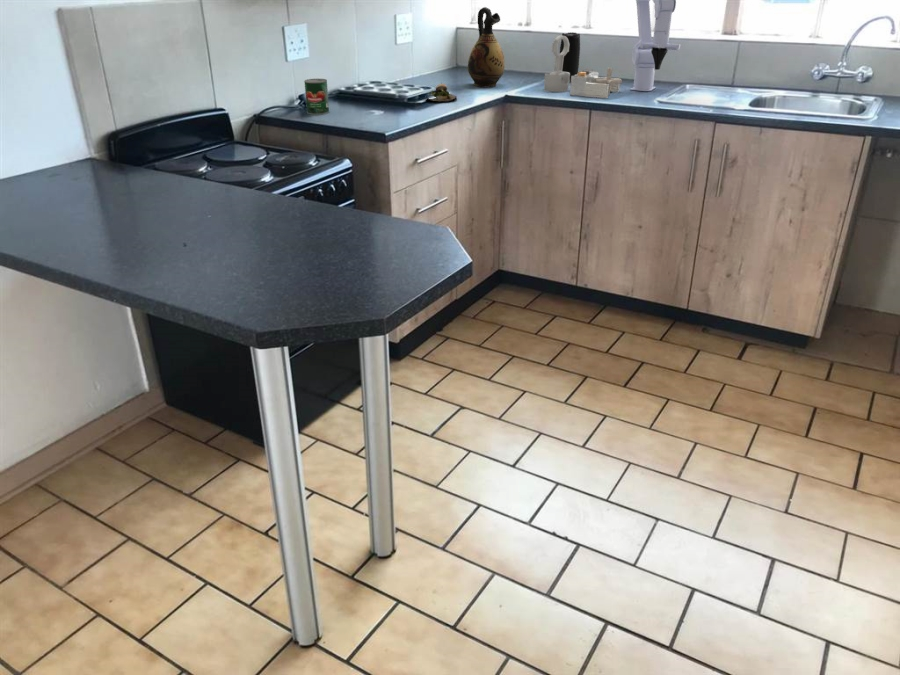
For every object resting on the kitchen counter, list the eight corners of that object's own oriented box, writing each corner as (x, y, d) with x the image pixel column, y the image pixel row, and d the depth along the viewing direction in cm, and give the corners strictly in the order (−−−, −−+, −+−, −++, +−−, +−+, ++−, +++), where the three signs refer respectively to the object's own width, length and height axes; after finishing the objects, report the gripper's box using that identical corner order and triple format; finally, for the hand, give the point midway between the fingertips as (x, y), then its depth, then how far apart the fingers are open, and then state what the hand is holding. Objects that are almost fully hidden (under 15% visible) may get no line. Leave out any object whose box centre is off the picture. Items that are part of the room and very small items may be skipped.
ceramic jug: (511, 86, 312) (514, 8, 298) (482, 89, 304) (483, 10, 290) (487, 80, 324) (488, 5, 310) (458, 84, 316) (458, 7, 302)
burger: (420, 102, 282) (420, 82, 278) (432, 97, 292) (432, 77, 288) (450, 105, 278) (449, 84, 274) (461, 99, 288) (461, 79, 284)
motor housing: (583, 88, 305) (584, 67, 301) (619, 91, 299) (621, 70, 295) (569, 95, 292) (570, 73, 289) (606, 98, 286) (608, 76, 282)
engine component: (539, 89, 304) (557, 92, 298) (541, 35, 295) (560, 37, 288) (556, 86, 311) (575, 89, 304) (560, 33, 301) (579, 35, 294)
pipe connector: (616, 92, 297) (619, 66, 293) (623, 97, 289) (626, 70, 284) (591, 92, 297) (594, 66, 292) (597, 97, 288) (600, 70, 283)
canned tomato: (310, 115, 261) (307, 82, 256) (304, 111, 267) (301, 79, 262) (332, 113, 264) (329, 81, 258) (326, 109, 270) (323, 77, 265)
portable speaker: (556, 81, 321) (559, 34, 312) (560, 78, 329) (563, 31, 320) (575, 82, 319) (578, 34, 310) (579, 79, 326) (582, 32, 317)
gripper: (639, 31, 279) (635, 69, 285) (678, 33, 273) (673, 71, 279) (644, 29, 284) (640, 66, 291) (683, 31, 278) (678, 69, 285)
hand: (657, 69), depth 285 cm, fingers closed
